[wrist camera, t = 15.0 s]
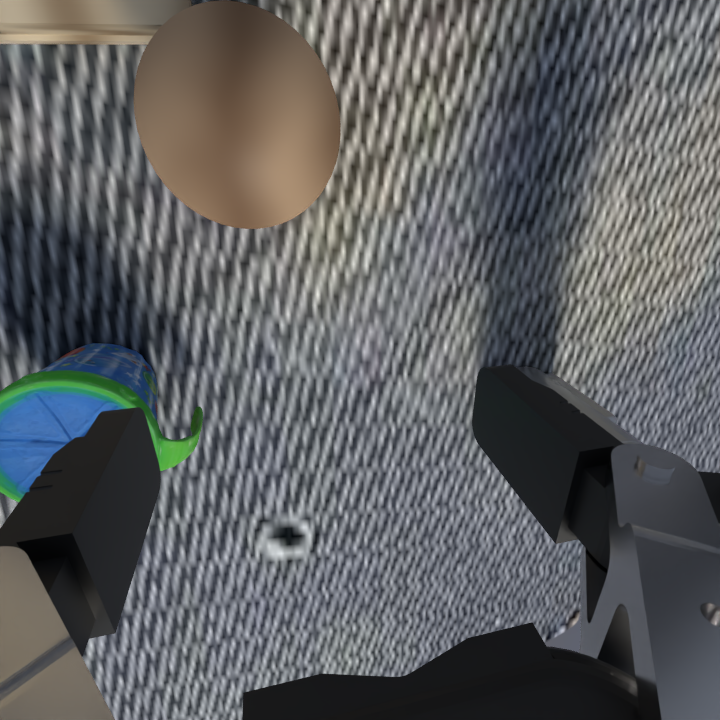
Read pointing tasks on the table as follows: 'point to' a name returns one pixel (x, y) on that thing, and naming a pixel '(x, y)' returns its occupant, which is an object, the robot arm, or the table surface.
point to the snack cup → (77, 410)
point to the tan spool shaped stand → (237, 114)
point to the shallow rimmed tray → (84, 20)
